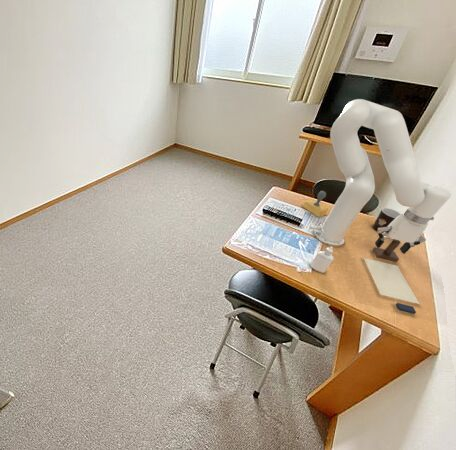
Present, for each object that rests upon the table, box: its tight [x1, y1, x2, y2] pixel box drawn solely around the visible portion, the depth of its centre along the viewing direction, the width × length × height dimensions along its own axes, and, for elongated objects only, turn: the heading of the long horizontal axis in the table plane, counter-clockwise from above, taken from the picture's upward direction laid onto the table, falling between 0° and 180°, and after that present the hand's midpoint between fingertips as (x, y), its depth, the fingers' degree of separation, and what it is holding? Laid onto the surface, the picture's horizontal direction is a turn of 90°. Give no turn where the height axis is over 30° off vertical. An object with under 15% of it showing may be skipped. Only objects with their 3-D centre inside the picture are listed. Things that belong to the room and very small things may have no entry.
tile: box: [363, 257, 420, 305], centre depth 107 cm, size 13×20×1 cm, turn 164°
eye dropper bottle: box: [310, 245, 334, 274], centre depth 106 cm, size 4×6×12 cm
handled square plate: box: [372, 239, 402, 263], centre depth 116 cm, size 8×5×10 cm, turn 74°
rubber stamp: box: [302, 190, 329, 218], centre depth 141 cm, size 10×6×12 cm, turn 27°
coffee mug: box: [372, 207, 401, 233], centre depth 131 cm, size 12×9×10 cm
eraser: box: [395, 302, 417, 315], centre depth 96 cm, size 5×2×2 cm, turn 74°
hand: (389, 248), depth 116 cm, fingers open, 9 cm apart
